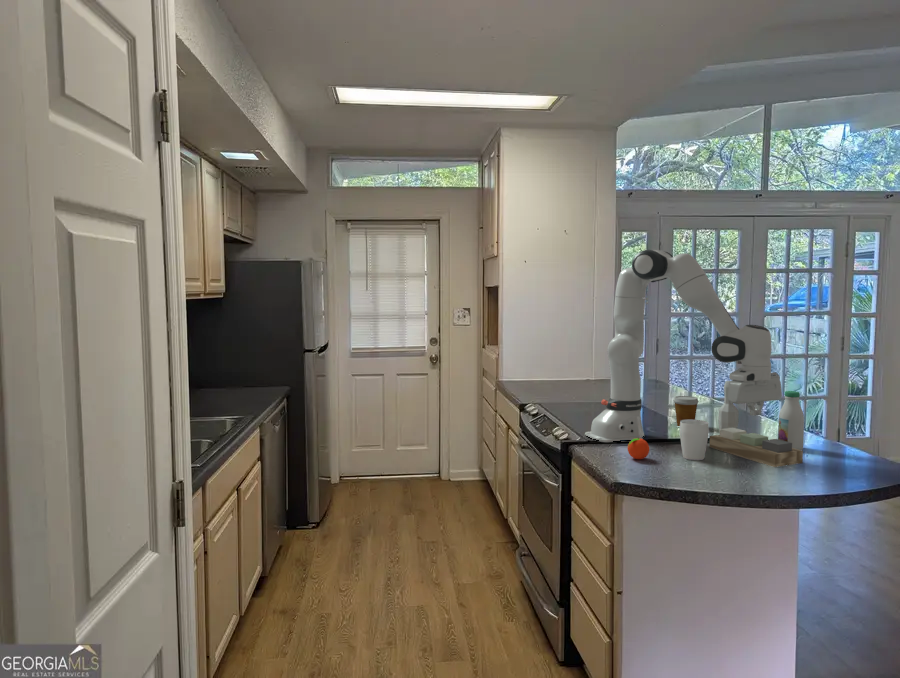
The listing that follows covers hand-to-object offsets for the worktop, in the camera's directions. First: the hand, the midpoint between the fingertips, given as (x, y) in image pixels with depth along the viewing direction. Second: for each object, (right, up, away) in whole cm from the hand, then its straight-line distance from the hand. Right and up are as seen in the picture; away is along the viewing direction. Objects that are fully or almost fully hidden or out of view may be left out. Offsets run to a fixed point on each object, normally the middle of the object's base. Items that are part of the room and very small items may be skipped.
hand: (755, 414), depth 206 cm
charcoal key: (+3, -12, -7) cm, 14 cm away
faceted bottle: (0, -12, +20) cm, 24 cm away
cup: (-21, -14, -2) cm, 26 cm away
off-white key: (-3, -10, +9) cm, 14 cm away
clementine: (-40, -15, -3) cm, 43 cm away
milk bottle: (+16, -13, +9) cm, 23 cm away
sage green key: (0, -11, +1) cm, 11 cm away
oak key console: (0, -14, +1) cm, 14 cm away
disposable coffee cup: (-7, -11, +43) cm, 45 cm away
